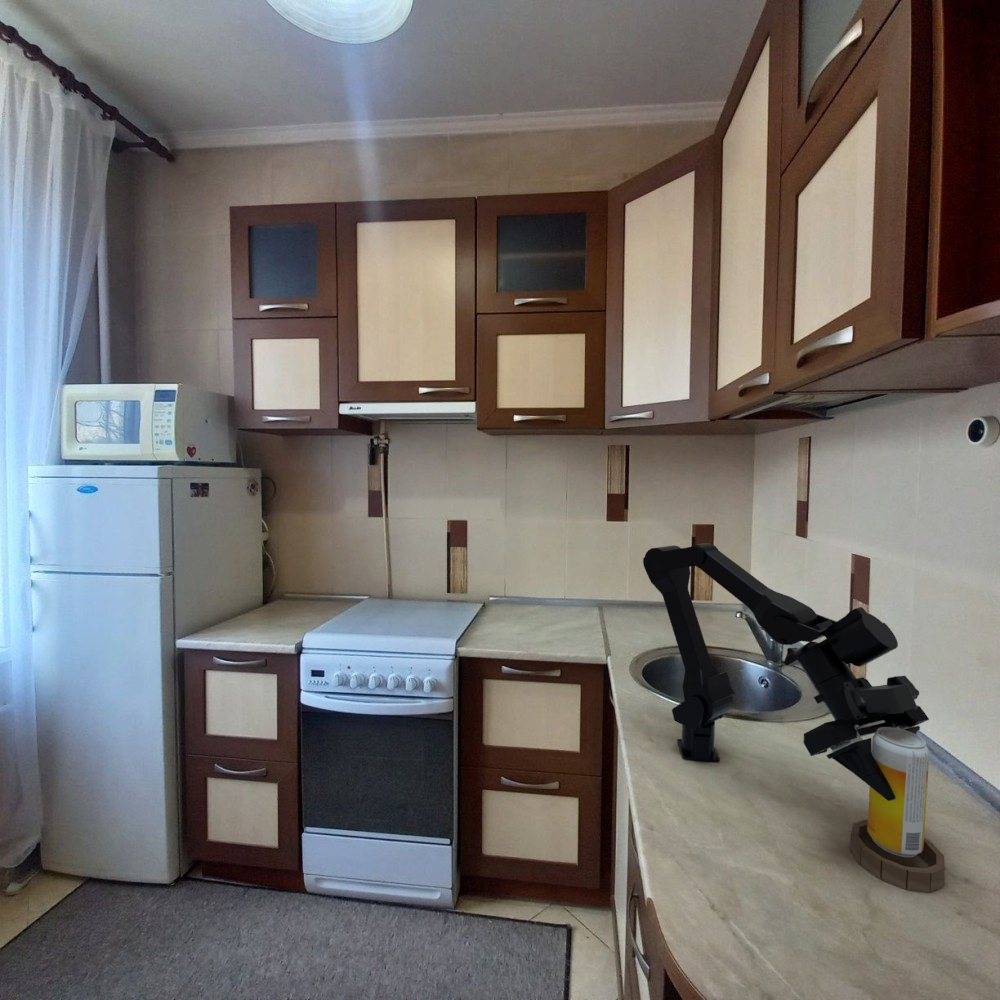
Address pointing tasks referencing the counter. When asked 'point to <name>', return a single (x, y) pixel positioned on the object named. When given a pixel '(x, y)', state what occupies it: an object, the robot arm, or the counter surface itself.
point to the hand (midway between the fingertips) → (908, 794)
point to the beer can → (899, 792)
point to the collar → (895, 872)
